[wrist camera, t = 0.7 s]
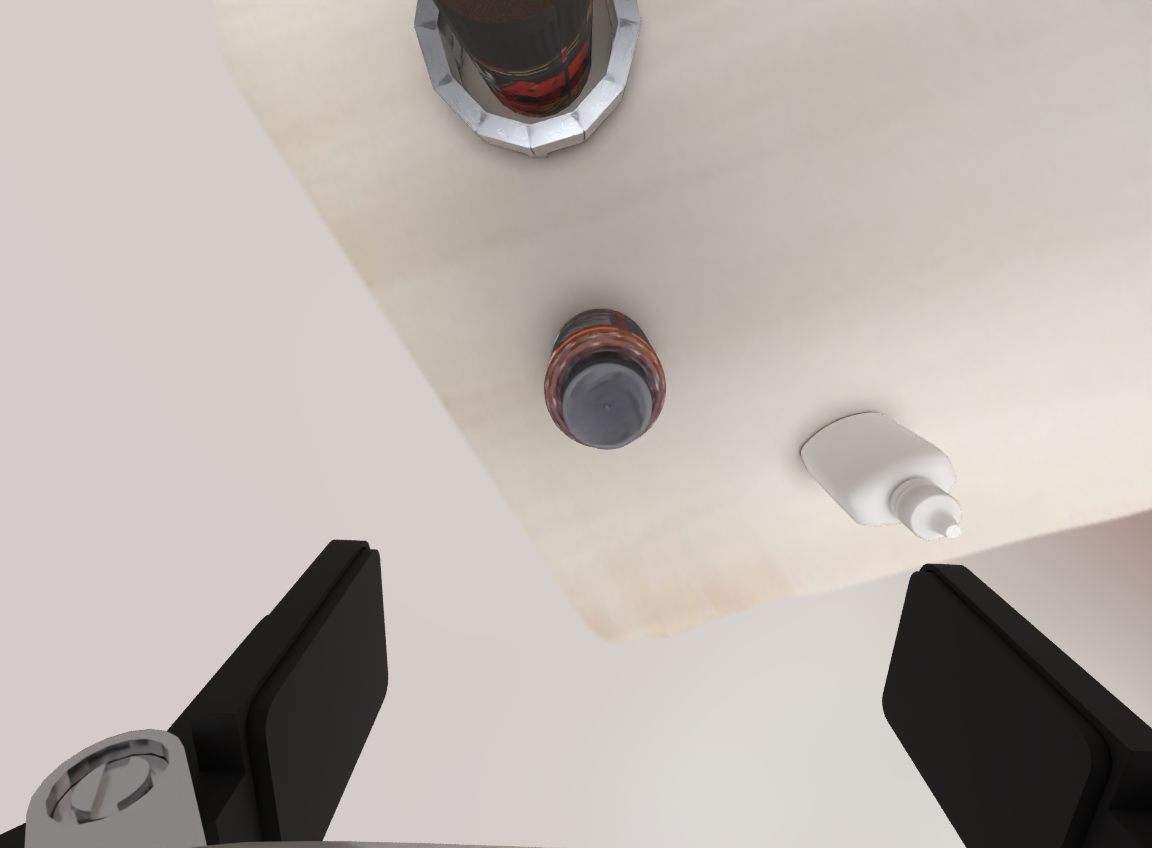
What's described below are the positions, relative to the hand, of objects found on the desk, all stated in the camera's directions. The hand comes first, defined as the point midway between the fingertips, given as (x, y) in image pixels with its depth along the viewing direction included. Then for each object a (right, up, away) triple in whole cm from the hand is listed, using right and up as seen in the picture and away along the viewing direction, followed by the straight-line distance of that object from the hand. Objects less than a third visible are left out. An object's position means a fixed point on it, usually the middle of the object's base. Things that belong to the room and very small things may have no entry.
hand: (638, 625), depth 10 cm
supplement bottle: (0, +8, +26) cm, 28 cm away
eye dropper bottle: (+16, +2, +28) cm, 32 cm away
